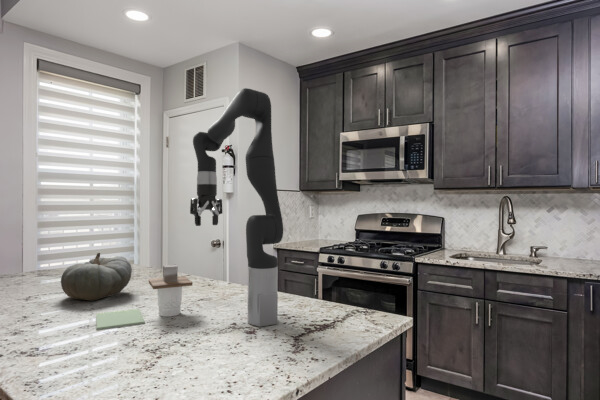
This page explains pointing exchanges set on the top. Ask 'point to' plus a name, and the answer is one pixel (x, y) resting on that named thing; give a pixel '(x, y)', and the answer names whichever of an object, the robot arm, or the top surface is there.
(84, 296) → the gourd
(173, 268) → the lid
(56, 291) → the top surface
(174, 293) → the white cup
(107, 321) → the mat
